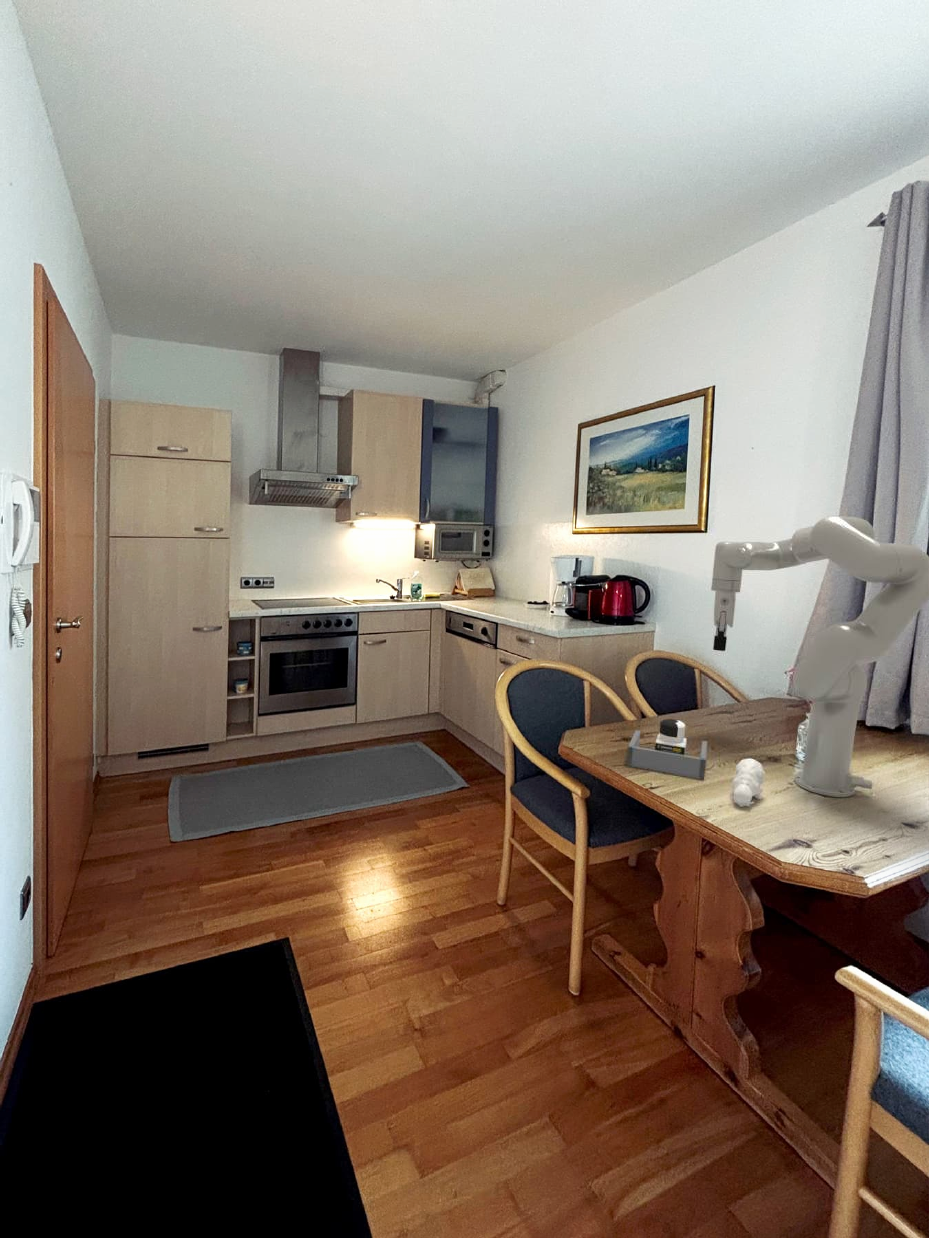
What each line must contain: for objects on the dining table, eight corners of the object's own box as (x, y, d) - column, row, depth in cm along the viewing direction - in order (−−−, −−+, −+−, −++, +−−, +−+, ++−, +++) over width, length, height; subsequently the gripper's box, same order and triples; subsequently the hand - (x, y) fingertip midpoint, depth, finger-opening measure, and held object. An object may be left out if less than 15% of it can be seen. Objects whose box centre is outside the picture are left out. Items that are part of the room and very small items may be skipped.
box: (705, 759, 160) (707, 741, 160) (703, 779, 146) (705, 760, 146) (634, 747, 167) (635, 729, 167) (626, 765, 153) (628, 746, 153)
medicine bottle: (652, 768, 153) (657, 722, 151) (655, 759, 159) (659, 715, 157) (682, 773, 150) (687, 727, 148) (684, 764, 156) (688, 719, 155)
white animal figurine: (767, 759, 138) (759, 780, 128) (764, 793, 140) (755, 816, 130) (738, 752, 141) (727, 772, 131) (734, 786, 143) (724, 808, 133)
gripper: (741, 588, 161) (734, 656, 163) (739, 585, 175) (732, 647, 177) (711, 586, 164) (704, 652, 166) (711, 583, 177) (705, 644, 180)
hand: (719, 649), depth 172 cm, fingers closed
